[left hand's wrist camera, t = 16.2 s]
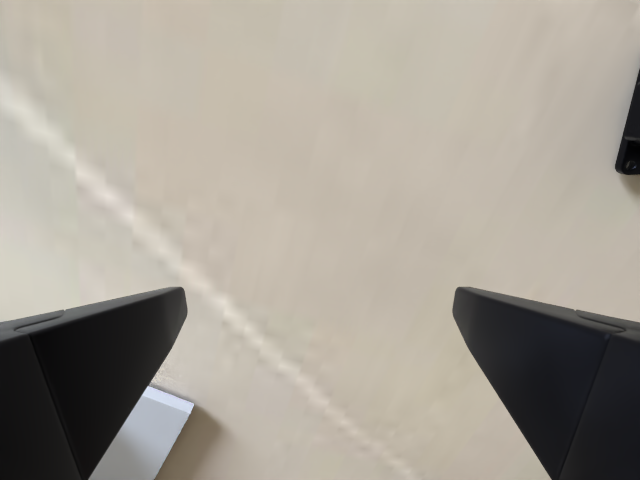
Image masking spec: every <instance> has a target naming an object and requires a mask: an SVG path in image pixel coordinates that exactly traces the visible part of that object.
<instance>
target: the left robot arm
mask: <svg viewBox="0 0 640 480" xmlns="http://www.w3.org/2000/svg"><path fill="white" fill-rule="evenodd" d="M629 161H630V164H629V166H628V167H627V168H626V165H627V163H628V162H629ZM615 169H616V171H617V172H618V173H621V174H626V175H635V174H640V70H639V74H638V77H637V81H636V85H635V89H634V93H633V97H632V101H631V105H630V109H629V113H628V117H627V121H626V125H625V129H624V133H623V137H622V141H621V144H620V148H619V152H618V156H617V160H616V164H615ZM186 317H187V303H186V297H185V291H184V289H183V288H182V287H168V288H163V289H159V290H154V291H149V292H145V293H140V294H135V295H131V296H126V297H122V298H117V299H112V300H108V301H103V302H98V303H94V304H89V305H85V306H80V307H75V308H71V309H66V310H65V311H64V310H59V311H55V312H50V313H45V314H40V315H35V316H31V317H26V318H21V319H16V320H11V321H6V322H0V480H88V479H89V478H90V476H91V475H92V473H93V471H94V470H95V468H96V467H97V465H98V464H99V462H100V460H101V459H102V457H103V456H104V454H105V453H106V451H107V449H108V448H109V446H110V445H111V443H112V442H113V440H114V438H115V437H116V435H117V434H118V432H119V431H120V429H121V427H122V426H123V424H124V423H125V421H126V420H127V418H128V416H129V415H130V413H131V412H132V410H133V409H134V407H135V405H136V404H137V402H138V401H139V399H140V398H141V396H142V394H143V393H144V391H145V390H146V388H147V387H148V385H149V383H150V382H151V380H152V379H153V377H154V376H155V374H156V372H157V371H158V369H159V368H160V366H161V365H162V363H163V361H164V360H165V358H166V357H167V355H168V354H169V352H170V350H171V349H172V347H173V345H174V343H175V341H176V338H177V336H178V334H179V332H180V330H181V328H182V326H183V323H184V321H185V319H186ZM453 317H454V319H455V321H456V323H457V326H458V328H459V330H460V332H461V334H462V336H463V338H464V341H465V343H466V345H467V347H468V349H469V350H470V352H471V354H472V355H473V357H474V358H475V360H476V361H477V363H478V365H479V366H480V368H481V369H482V371H483V372H484V374H485V376H486V377H487V379H488V380H489V382H490V383H491V385H492V387H493V388H494V390H495V391H496V393H497V394H498V396H499V398H500V399H501V401H502V402H503V404H504V405H505V407H506V409H507V410H508V412H509V413H510V415H511V416H512V418H513V420H514V421H515V423H516V424H517V426H518V427H519V429H520V431H521V432H522V434H523V435H524V437H525V438H526V440H527V442H528V443H529V445H530V446H531V448H532V449H533V451H534V453H535V454H536V456H537V457H538V459H539V460H540V462H541V464H542V465H543V467H544V468H545V470H546V471H547V473H548V475H549V476H550V478H551V479H552V480H640V322H634V321H629V320H624V319H619V318H614V317H609V316H605V315H600V314H595V313H590V312H585V311H581V310H576V311H575V310H574V309H570V308H565V307H560V306H556V305H551V304H546V303H542V302H537V301H532V300H528V299H523V298H519V297H514V296H509V295H505V294H500V293H495V292H491V291H486V290H481V289H477V288H472V287H458V288H457V289H456V291H455V297H454V303H453Z"/></svg>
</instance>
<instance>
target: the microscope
mask: <svg viewBox="0 0 640 480" xmlns="http://www.w3.org/2000/svg"><path fill="white" fill-rule="evenodd" d="M193 406H194V404H193V403H191V402H188V401H186V400H183V399H181V398H178V397H176V396H173V395H170V394H168V393H165V392H163V391H160V390H158V389H155V388H152V387H150V386H148V387H147V388H146V390H145V391H144V393H143V394H142V396H141V398H140V399H139V401H138V402H137V404H136V405H135V407H134V409H133V410H132V412H131V413H130V415H129V416H128V418H127V420H126V421H125V423H124V424H123V426H122V427H121V429H120V431H119V432H118V434H117V435H116V437H115V438H114V440H113V442H112V443H111V445H110V446H109V448H108V449H107V451H106V453H105V454H104V456H103V457H102V459H101V460H100V462H99V464H98V465H97V467H96V468H95V470H94V471H93V473H92V475H91V476H90V478H89V479H88V480H154V479H155V477H156V475H157V473H158V472H159V470H160V468H161V466H162V464H163V462H164V461H165V459H166V457H167V455H168V453H169V451H170V450H171V448H172V446H173V444H174V442H175V440H176V439H177V437H178V435H179V433H180V431H181V430H182V428H183V426H184V424H185V422H186V420H187V419H188V417H189V415H190V413H191V411H192V408H193Z"/></svg>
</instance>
